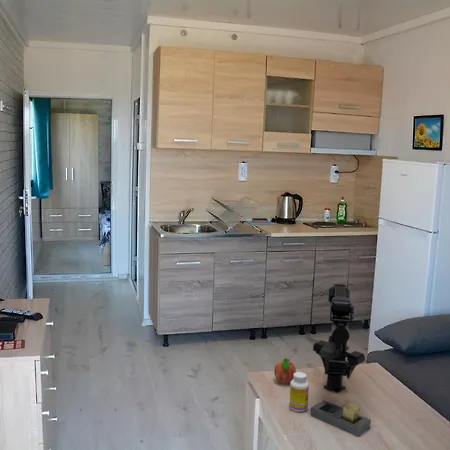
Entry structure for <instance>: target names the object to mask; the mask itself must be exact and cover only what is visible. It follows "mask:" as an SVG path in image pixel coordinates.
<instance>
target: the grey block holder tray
mask: <svg viewBox="0 0 450 450" xmlns="http://www.w3.org/2000/svg"><path fill="white" fill-rule="evenodd" d="M309 412H310V413H309V415H311V416H310V417H313V418H314V419H317V420H319V421H322V422H324V423H327V424H329V425H331V426H334V427H335V428H338V429H340V430H343V431H345V432H347V433H349V434H351V435H353V436H356V437H360V436H361V435H363V434H364V433H365V432H366V431H368V430H369V429H370V428H371V425H372V424H371V419H370V418H368V417H365V416H363V415H361V414H360V415H359V421H358V422H356V423H355V424H353V423H350V422H348V421H346V420H343V407H341V406H339V405H337V404H334V403H331V402H329V401H326V400H324V399H323V400H321V401H320V402H317V403H316V404H314V405H313V406H311V407H310V411H309Z"/></svg>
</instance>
